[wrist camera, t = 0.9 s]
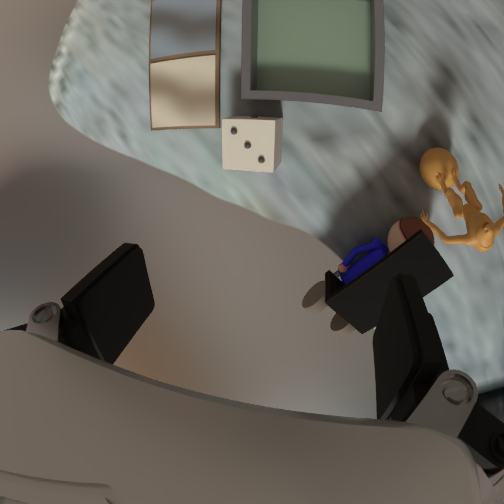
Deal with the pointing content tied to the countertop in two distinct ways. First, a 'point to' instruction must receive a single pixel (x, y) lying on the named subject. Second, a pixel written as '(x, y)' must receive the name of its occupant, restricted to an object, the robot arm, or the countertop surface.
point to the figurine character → (378, 276)
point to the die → (252, 143)
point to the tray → (314, 51)
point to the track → (184, 64)
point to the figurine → (458, 201)
